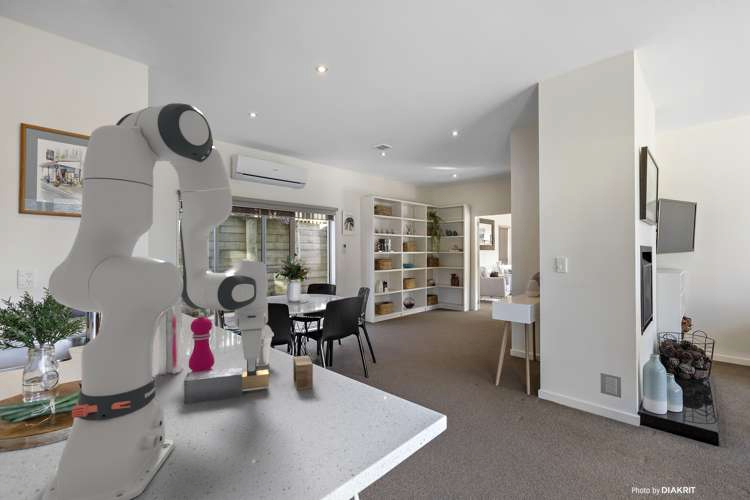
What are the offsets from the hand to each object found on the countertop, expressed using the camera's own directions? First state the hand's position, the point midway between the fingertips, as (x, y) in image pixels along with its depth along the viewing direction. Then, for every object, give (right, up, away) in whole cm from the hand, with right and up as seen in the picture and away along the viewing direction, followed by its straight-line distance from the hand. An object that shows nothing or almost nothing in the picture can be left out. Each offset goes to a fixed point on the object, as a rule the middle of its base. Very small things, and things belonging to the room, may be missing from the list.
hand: (251, 365), depth 99 cm
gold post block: (-5, -6, -2) cm, 8 cm away
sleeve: (-9, -7, -3) cm, 12 cm away
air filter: (-31, -7, +14) cm, 35 cm away
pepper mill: (-19, -7, +10) cm, 23 cm away
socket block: (+13, -7, +5) cm, 16 cm away
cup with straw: (-4, -7, +22) cm, 23 cm away
